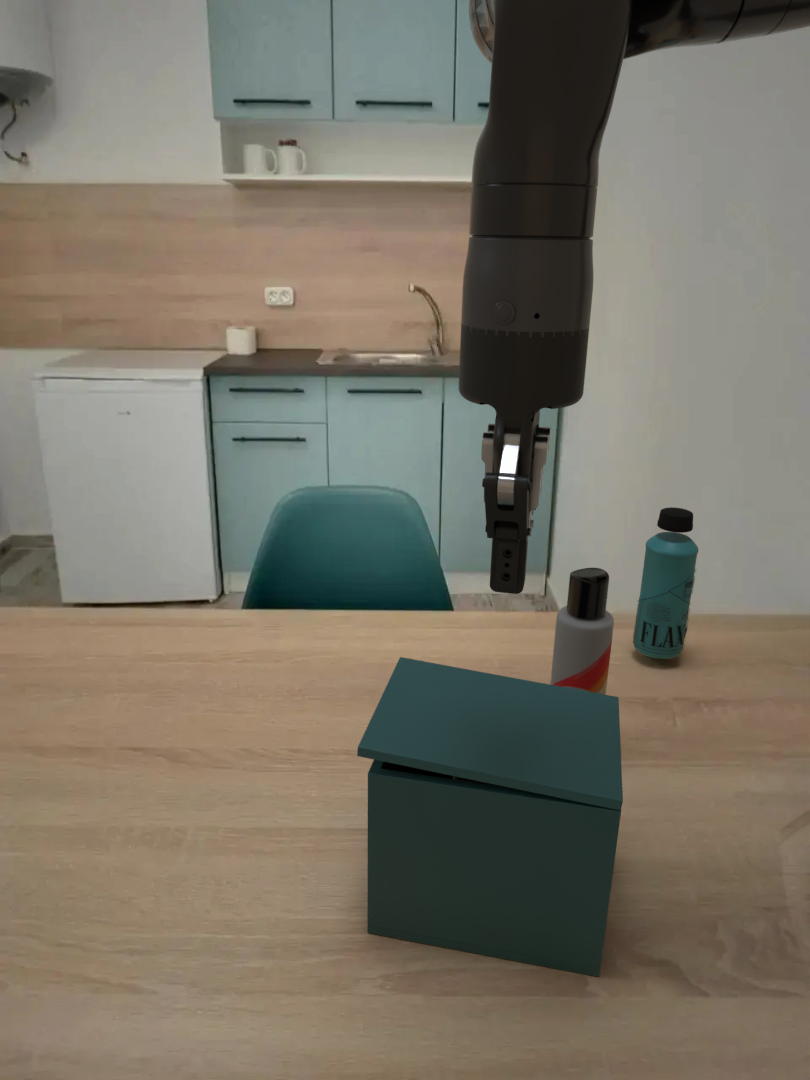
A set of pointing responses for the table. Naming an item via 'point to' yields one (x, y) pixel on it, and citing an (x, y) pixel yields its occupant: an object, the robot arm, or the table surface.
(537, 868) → the dark teal storage box
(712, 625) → the table surface
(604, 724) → the lid
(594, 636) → the lotion bottle
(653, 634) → the beverage bottle
